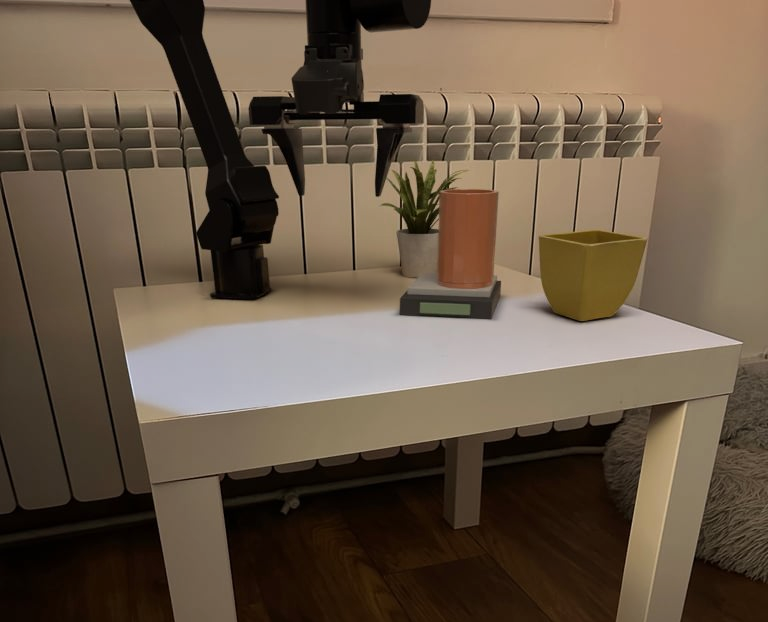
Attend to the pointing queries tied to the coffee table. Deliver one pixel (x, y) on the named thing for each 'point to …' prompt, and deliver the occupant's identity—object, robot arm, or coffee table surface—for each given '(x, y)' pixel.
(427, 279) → the scale
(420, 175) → the house plant
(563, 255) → the flower pot
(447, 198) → the cup
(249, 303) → the coffee table surface
